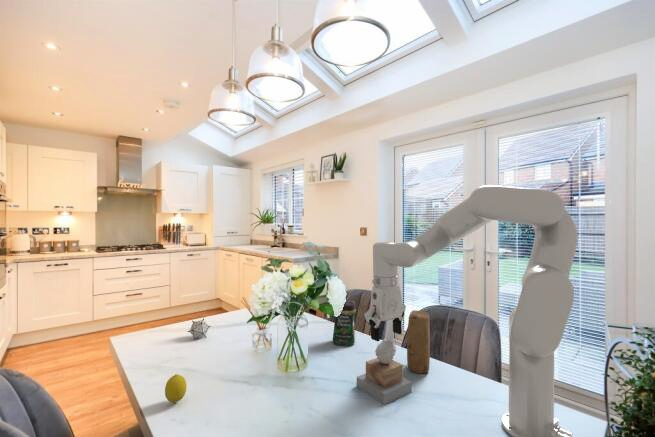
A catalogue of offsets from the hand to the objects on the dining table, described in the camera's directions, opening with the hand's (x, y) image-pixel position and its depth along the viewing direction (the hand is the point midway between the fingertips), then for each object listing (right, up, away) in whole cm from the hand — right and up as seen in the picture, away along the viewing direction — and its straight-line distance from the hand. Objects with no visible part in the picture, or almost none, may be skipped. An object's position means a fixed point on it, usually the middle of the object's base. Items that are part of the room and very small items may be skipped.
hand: (386, 336), depth 97 cm
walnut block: (-1, -14, 0) cm, 13 cm away
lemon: (-62, -16, -9) cm, 64 cm away
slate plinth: (-1, -17, 0) cm, 16 cm away
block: (+14, -17, +15) cm, 27 cm away
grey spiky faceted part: (-75, -16, +40) cm, 87 cm away
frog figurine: (0, -9, 0) cm, 9 cm away
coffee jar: (-11, -17, +37) cm, 42 cm away
